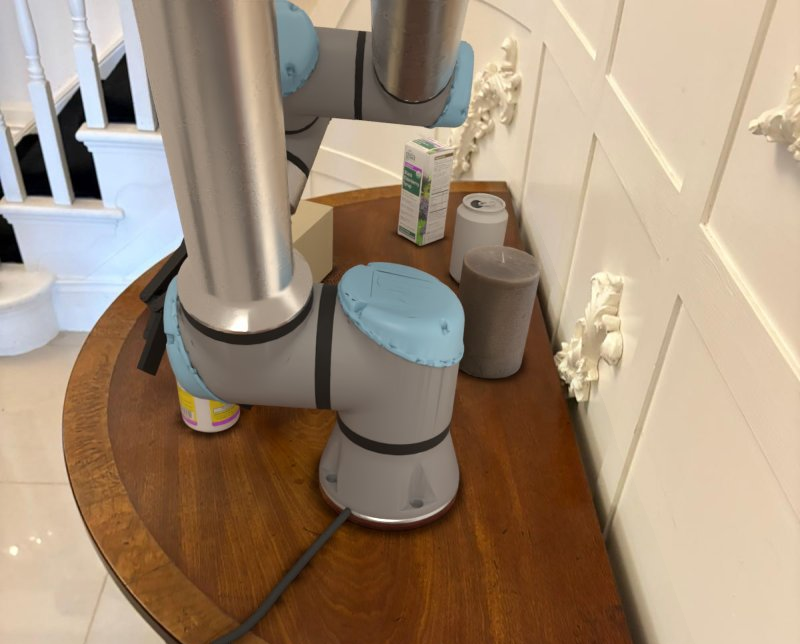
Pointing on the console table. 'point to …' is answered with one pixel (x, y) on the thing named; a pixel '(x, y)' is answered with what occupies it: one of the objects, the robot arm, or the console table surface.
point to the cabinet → (314, 236)
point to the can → (477, 227)
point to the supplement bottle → (206, 412)
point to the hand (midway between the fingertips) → (193, 389)
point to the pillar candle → (496, 308)
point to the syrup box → (425, 190)
